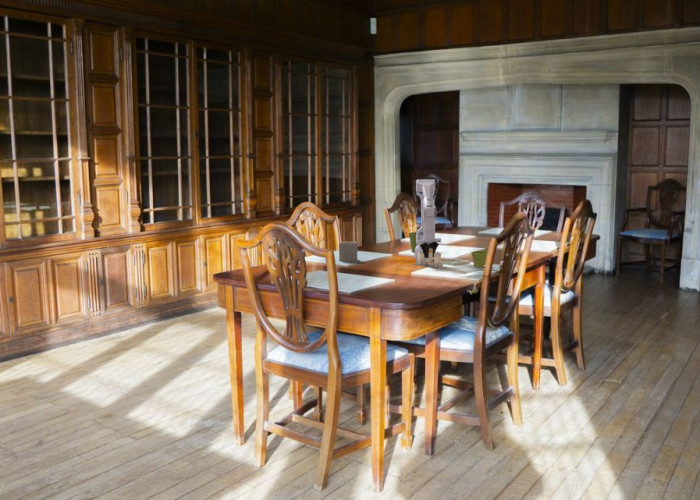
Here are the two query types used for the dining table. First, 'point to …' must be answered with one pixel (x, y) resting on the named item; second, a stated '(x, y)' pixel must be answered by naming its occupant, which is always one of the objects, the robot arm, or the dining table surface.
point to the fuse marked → (430, 256)
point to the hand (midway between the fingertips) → (429, 257)
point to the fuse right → (437, 260)
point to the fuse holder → (429, 265)
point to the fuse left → (420, 257)
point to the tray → (459, 261)
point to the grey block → (347, 251)
